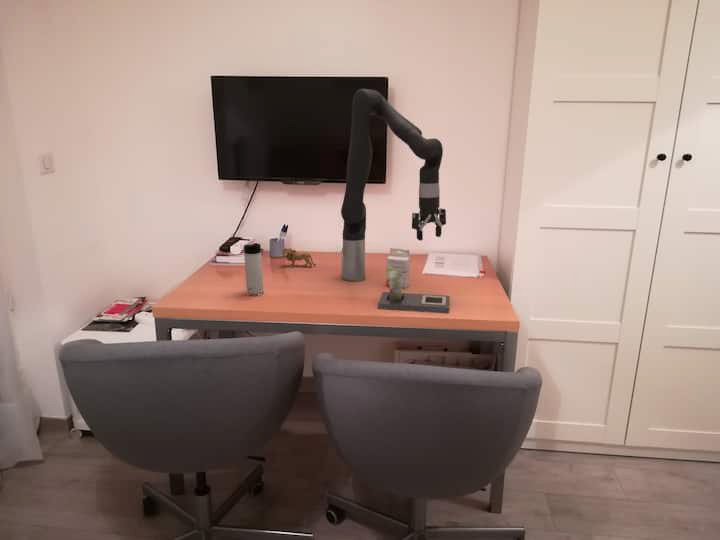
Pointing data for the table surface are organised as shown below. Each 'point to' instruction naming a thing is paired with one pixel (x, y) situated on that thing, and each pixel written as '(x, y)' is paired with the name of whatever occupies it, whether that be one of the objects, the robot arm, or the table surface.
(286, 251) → the lion figurine
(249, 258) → the travel mug
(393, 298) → the peg
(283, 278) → the table surface
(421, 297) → the grey flat plate
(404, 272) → the ink cartridge box
